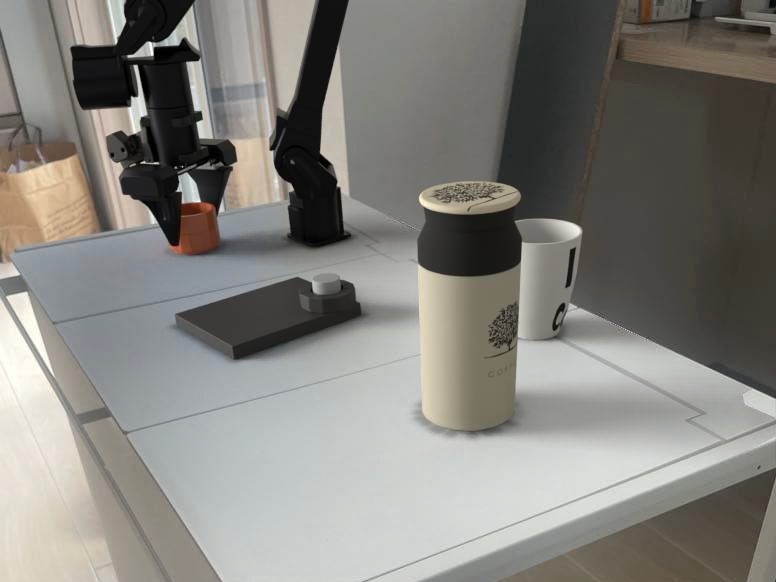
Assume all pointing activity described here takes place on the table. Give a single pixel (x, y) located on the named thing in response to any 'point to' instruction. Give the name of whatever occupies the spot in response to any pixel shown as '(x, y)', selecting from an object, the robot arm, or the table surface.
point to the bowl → (197, 229)
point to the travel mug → (469, 303)
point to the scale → (268, 316)
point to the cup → (546, 275)
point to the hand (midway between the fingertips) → (193, 235)
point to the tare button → (326, 284)
